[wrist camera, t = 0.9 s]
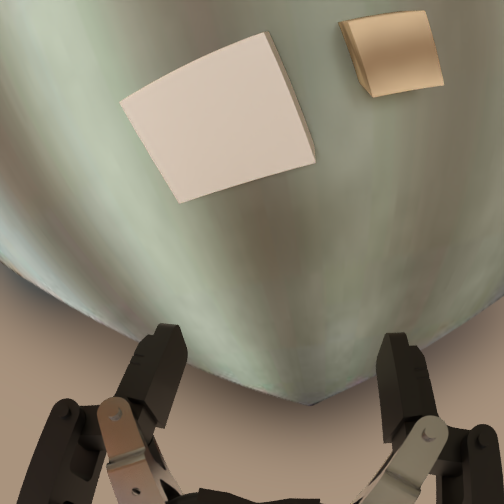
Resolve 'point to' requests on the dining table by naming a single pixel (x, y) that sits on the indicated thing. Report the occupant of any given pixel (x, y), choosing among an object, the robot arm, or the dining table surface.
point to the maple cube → (393, 52)
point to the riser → (222, 120)
